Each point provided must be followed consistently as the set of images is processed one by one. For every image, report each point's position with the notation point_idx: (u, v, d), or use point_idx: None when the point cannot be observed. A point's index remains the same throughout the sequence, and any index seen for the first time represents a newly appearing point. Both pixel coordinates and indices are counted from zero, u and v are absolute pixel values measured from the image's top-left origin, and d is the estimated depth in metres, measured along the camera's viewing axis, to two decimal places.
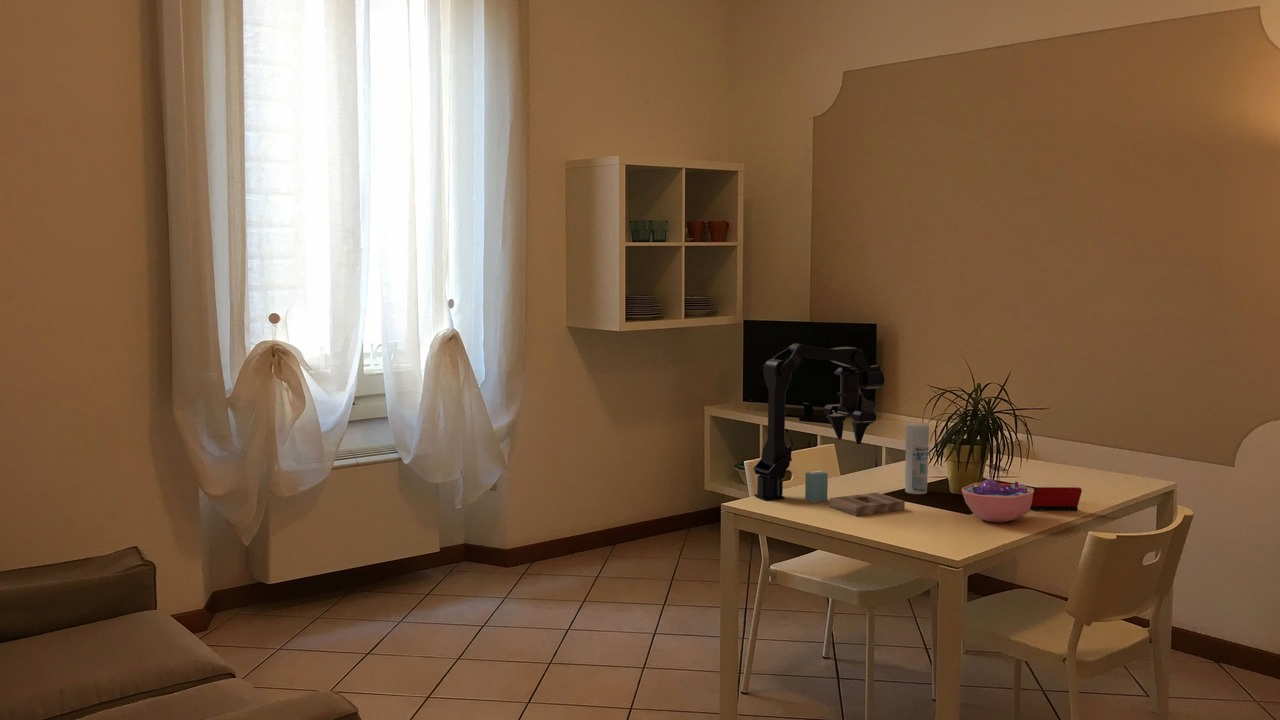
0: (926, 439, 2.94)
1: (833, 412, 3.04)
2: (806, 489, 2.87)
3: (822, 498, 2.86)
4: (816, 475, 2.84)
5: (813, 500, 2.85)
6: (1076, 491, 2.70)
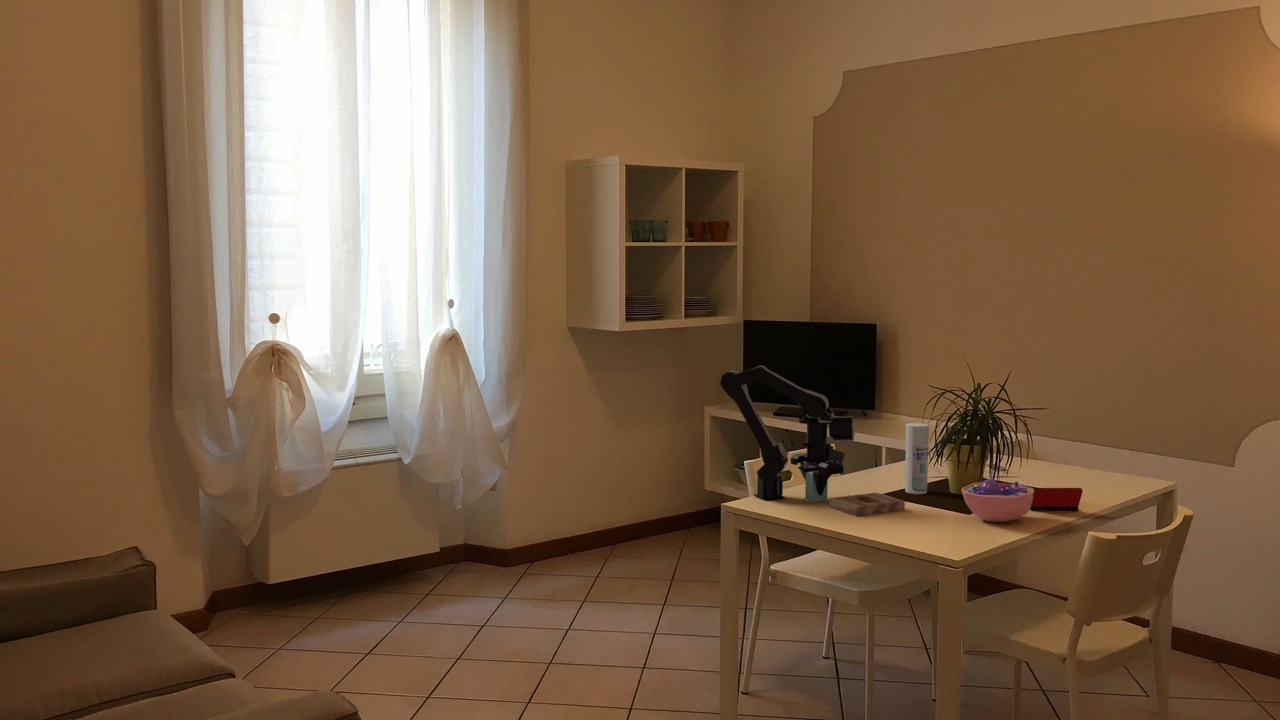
0: (926, 439, 2.94)
1: (805, 464, 2.88)
2: (806, 489, 2.87)
3: (822, 498, 2.86)
4: None
5: (813, 500, 2.85)
6: (1077, 491, 2.69)
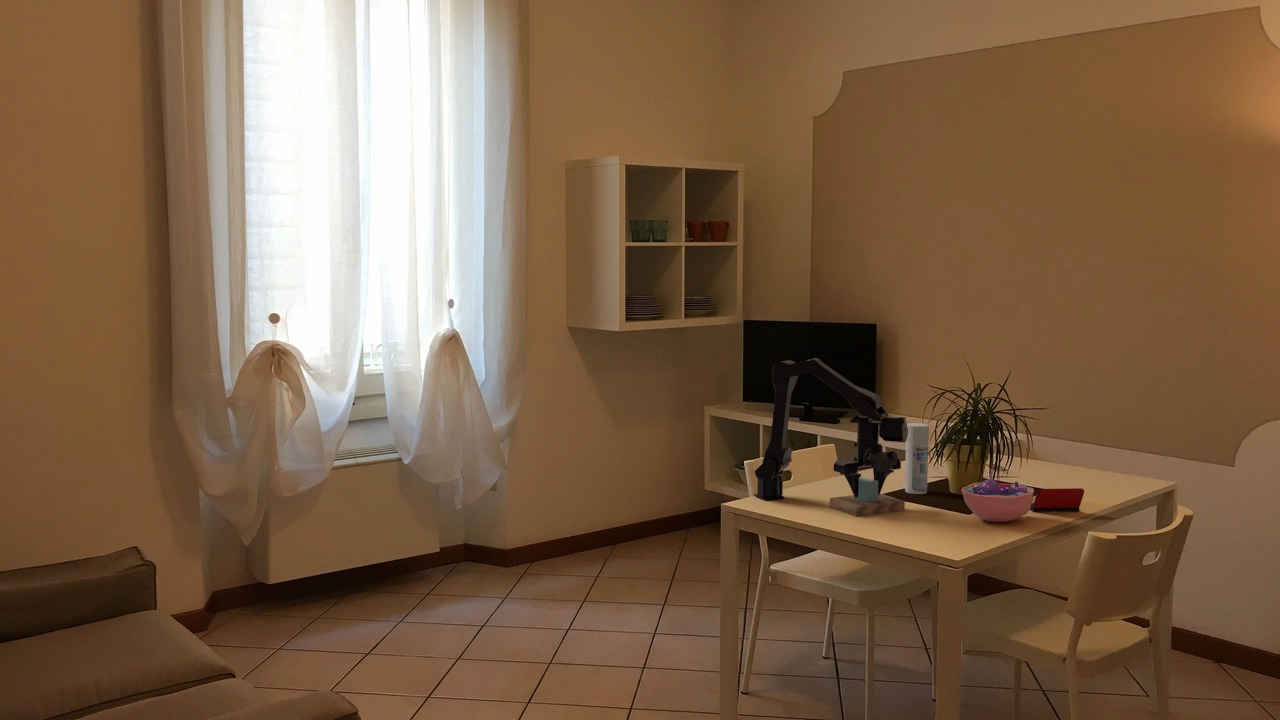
0: (926, 439, 2.94)
1: None
2: None
3: None
4: (859, 480, 2.77)
5: None
6: (1079, 492, 2.69)
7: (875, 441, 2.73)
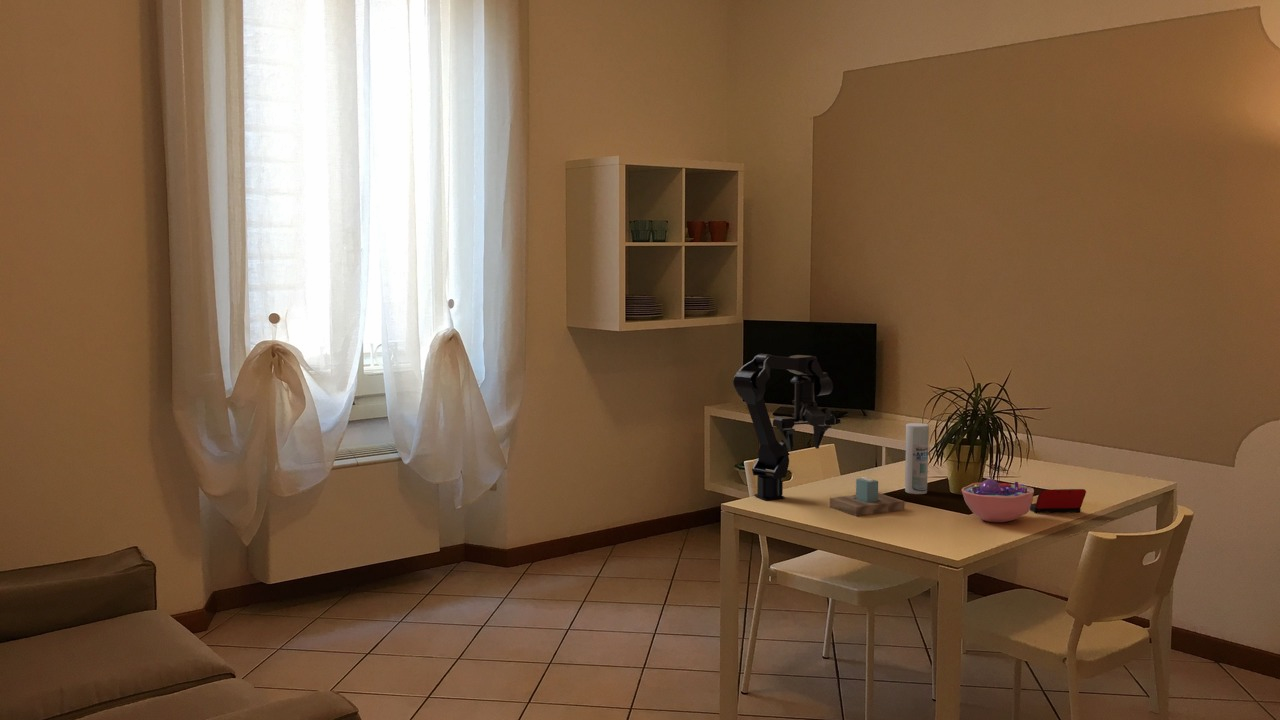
0: (926, 439, 2.94)
1: None
2: None
3: None
4: (859, 480, 2.77)
5: None
6: (1081, 493, 2.68)
7: (810, 398, 2.97)
